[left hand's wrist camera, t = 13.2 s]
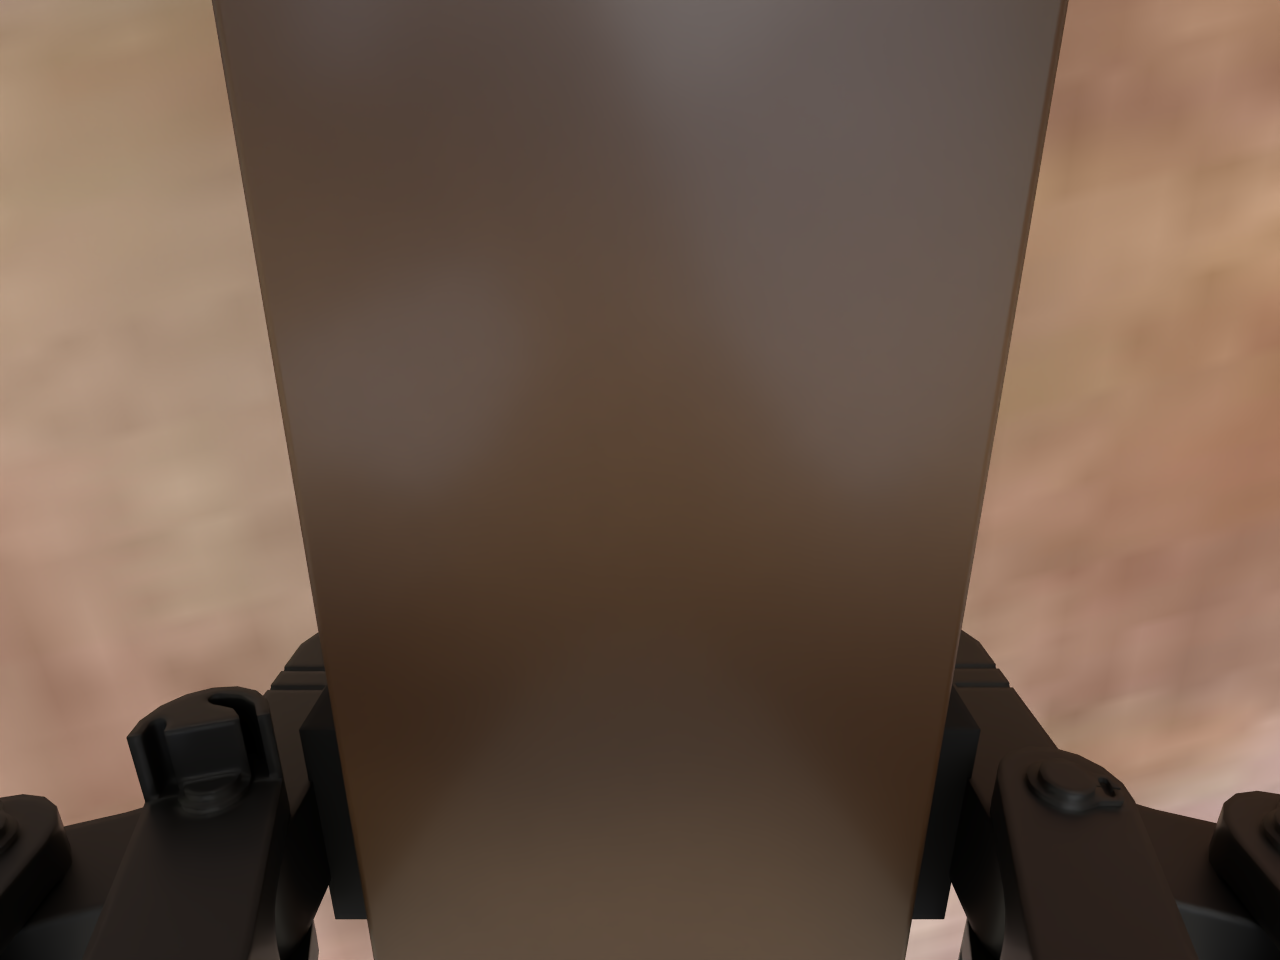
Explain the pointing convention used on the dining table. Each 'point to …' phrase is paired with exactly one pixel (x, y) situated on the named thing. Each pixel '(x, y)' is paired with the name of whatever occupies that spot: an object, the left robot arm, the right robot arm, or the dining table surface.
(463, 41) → the post
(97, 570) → the dining table surface
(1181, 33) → the dining table surface
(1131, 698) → the dining table surface
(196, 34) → the dining table surface
